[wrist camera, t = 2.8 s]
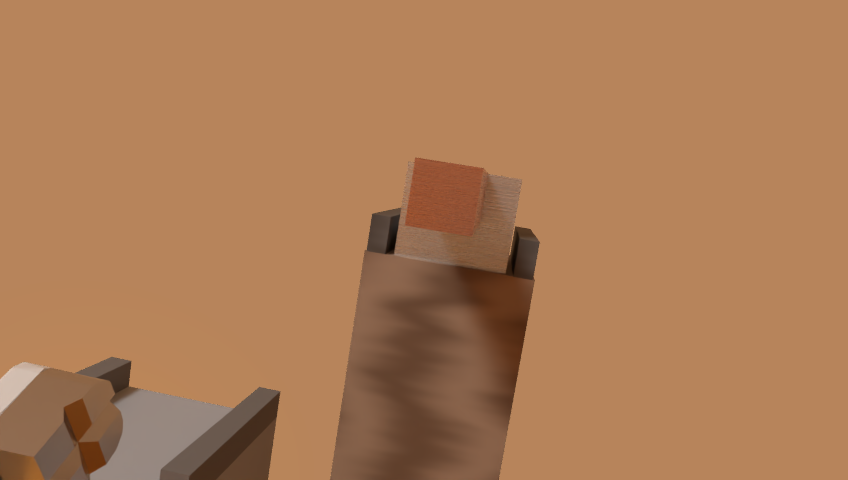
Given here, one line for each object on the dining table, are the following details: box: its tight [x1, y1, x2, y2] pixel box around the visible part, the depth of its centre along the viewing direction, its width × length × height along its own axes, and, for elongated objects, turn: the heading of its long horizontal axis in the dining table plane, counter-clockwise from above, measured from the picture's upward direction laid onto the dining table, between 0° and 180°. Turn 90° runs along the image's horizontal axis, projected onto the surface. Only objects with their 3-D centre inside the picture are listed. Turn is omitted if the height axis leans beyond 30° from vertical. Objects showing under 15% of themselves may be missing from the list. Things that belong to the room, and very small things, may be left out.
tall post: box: [330, 208, 540, 480], centre depth 38 cm, size 12×12×28 cm
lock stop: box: [394, 158, 522, 274], centre depth 31 cm, size 6×17×5 cm, turn 173°
